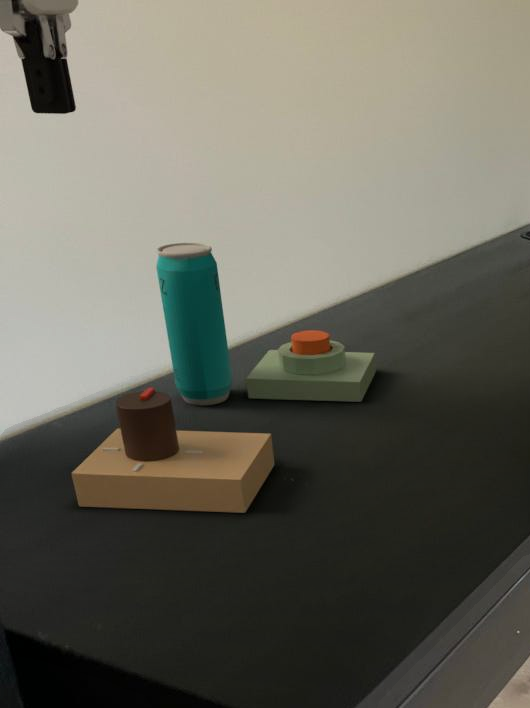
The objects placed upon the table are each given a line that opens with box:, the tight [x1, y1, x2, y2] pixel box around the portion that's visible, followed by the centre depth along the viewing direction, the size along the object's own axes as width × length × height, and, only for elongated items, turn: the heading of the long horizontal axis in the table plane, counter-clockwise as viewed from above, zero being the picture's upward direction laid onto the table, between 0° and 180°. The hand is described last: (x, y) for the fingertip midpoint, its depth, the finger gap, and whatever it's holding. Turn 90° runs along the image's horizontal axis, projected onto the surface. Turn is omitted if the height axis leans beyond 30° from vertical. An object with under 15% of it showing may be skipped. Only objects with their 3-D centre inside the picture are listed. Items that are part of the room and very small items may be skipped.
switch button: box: [290, 329, 331, 355], centre depth 105 cm, size 4×4×2 cm
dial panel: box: [71, 428, 275, 514], centre depth 85 cm, size 14×10×3 cm
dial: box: [114, 387, 179, 461], centre depth 83 cm, size 4×4×5 cm
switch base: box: [245, 339, 377, 403], centre depth 107 cm, size 12×10×4 cm
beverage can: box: [155, 242, 233, 406], centre depth 100 cm, size 6×6×15 cm
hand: (54, 112), depth 85 cm, fingers closed
